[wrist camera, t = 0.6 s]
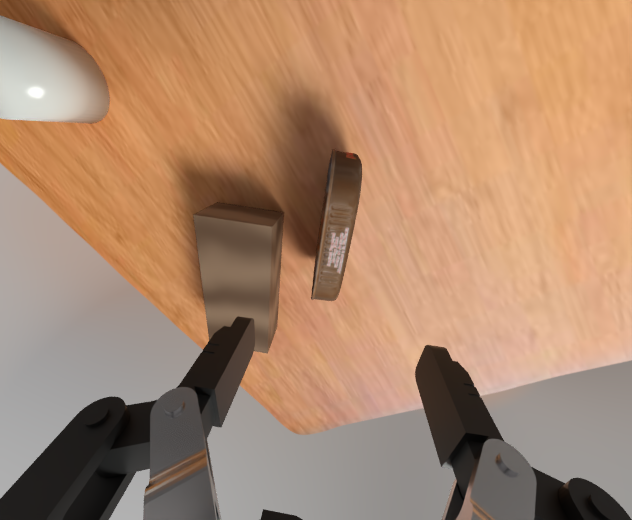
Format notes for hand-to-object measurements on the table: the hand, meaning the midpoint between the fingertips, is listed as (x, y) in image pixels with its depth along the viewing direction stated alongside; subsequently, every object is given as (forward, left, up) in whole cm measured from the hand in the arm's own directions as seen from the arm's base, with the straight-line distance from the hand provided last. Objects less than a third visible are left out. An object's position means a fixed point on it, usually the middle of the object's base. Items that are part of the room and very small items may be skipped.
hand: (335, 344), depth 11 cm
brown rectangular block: (+9, -11, -18) cm, 23 cm away
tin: (0, -1, -19) cm, 19 cm away
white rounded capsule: (-10, -29, -18) cm, 36 cm away
